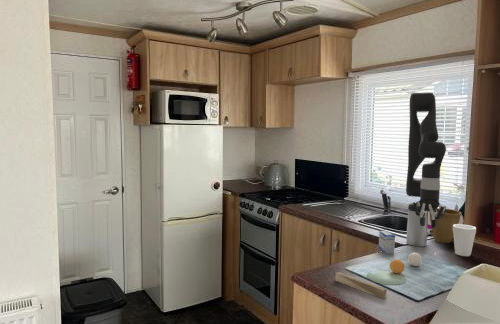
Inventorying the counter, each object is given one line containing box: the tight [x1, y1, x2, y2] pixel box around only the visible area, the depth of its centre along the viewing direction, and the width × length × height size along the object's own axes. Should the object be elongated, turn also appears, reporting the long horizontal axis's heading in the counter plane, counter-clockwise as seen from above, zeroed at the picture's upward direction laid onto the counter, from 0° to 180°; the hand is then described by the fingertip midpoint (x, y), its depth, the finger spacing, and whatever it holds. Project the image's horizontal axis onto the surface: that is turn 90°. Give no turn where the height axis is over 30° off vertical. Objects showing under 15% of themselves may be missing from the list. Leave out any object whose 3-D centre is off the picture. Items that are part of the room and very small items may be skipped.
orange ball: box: [389, 258, 405, 275], centre depth 155 cm, size 6×6×6 cm
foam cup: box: [453, 223, 477, 257], centre depth 180 cm, size 10×9×13 cm
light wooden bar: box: [335, 271, 388, 300], centre depth 139 cm, size 2×20×3 cm, turn 39°
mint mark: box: [366, 270, 406, 286], centre depth 150 cm, size 14×14×1 cm
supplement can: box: [427, 207, 439, 236], centre depth 216 cm, size 8×8×15 cm
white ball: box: [407, 252, 423, 267], centre depth 163 cm, size 6×6×6 cm
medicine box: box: [378, 230, 396, 254], centre depth 184 cm, size 8×4×9 cm, turn 5°
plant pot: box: [429, 208, 462, 244], centre depth 201 cm, size 15×15×16 cm
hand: (428, 226), depth 169 cm, fingers open, 4 cm apart
